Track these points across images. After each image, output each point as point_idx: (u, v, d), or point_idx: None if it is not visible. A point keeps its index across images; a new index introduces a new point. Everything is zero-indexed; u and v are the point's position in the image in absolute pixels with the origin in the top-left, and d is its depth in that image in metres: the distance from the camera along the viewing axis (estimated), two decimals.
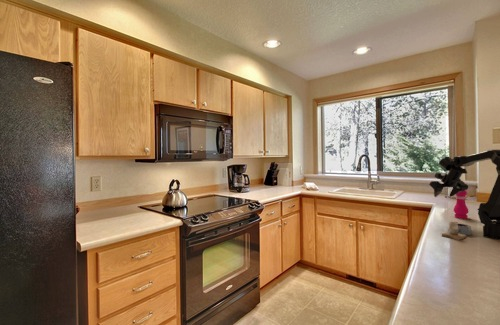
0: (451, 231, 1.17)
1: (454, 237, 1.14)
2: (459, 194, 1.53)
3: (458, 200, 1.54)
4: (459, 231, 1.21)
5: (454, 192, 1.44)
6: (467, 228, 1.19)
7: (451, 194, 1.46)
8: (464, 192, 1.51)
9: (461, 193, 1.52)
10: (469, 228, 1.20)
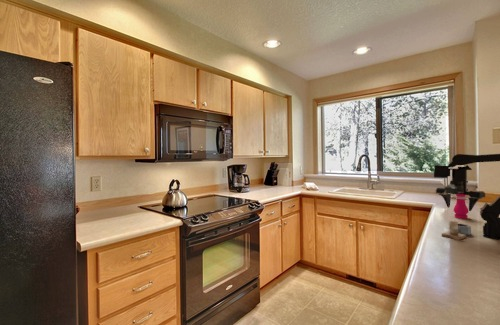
0: (451, 231, 1.17)
1: (454, 237, 1.14)
2: (459, 194, 1.53)
3: (458, 200, 1.54)
4: (459, 231, 1.21)
5: (449, 200, 1.28)
6: (467, 228, 1.19)
7: (449, 204, 1.28)
8: None
9: None
10: (469, 228, 1.20)
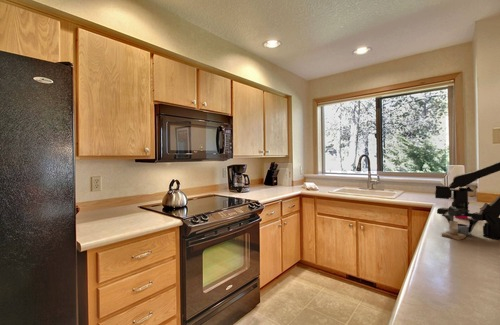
0: (451, 231, 1.17)
1: (454, 237, 1.14)
2: None
3: None
4: (459, 231, 1.21)
5: None
6: (467, 228, 1.19)
7: None
8: None
9: None
10: None
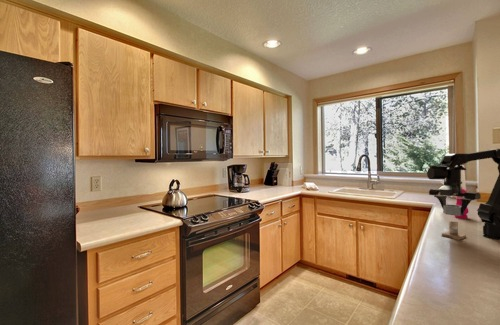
0: (451, 231, 1.17)
1: (454, 237, 1.14)
2: None
3: (458, 200, 1.54)
4: (451, 212, 1.15)
5: (445, 202, 1.22)
6: (459, 208, 1.14)
7: None
8: (464, 192, 1.51)
9: None
10: None
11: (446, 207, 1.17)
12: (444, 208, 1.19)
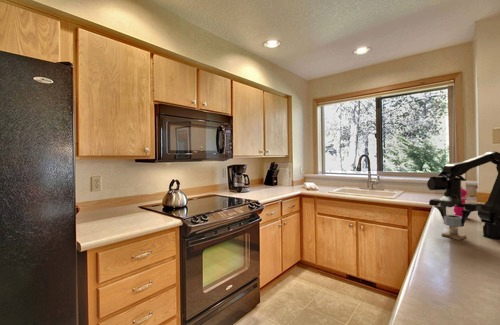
0: (451, 231, 1.17)
1: (454, 237, 1.14)
2: None
3: None
4: (452, 223, 1.15)
5: (445, 212, 1.21)
6: (460, 219, 1.14)
7: None
8: (464, 192, 1.51)
9: None
10: None
11: (447, 218, 1.17)
12: (445, 219, 1.18)
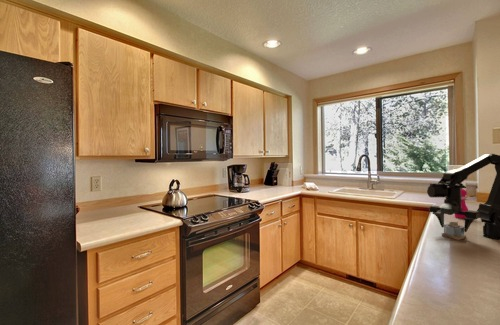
0: None
1: (454, 237, 1.14)
2: None
3: None
4: (452, 232, 1.15)
5: (443, 219, 1.22)
6: (460, 229, 1.14)
7: (443, 224, 1.21)
8: (464, 192, 1.51)
9: (461, 193, 1.52)
10: (462, 229, 1.14)
11: (447, 227, 1.17)
12: (445, 228, 1.18)
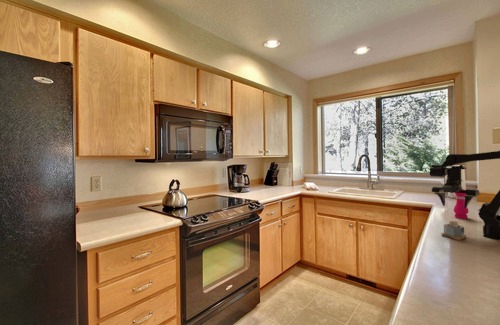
0: None
1: (454, 237, 1.14)
2: (459, 194, 1.53)
3: (458, 200, 1.54)
4: (452, 232, 1.15)
5: (444, 198, 1.33)
6: (460, 229, 1.14)
7: (444, 202, 1.32)
8: None
9: (461, 193, 1.52)
10: (462, 229, 1.14)
11: (447, 227, 1.17)
12: (445, 228, 1.18)
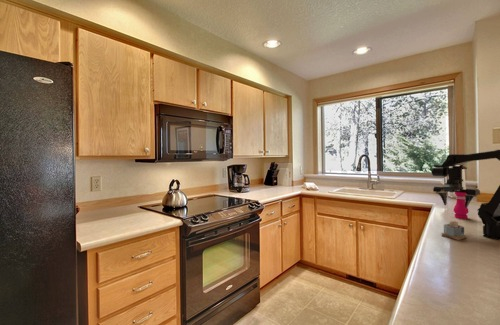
0: None
1: (454, 237, 1.14)
2: (459, 194, 1.53)
3: (458, 200, 1.54)
4: (452, 232, 1.15)
5: (445, 197, 1.35)
6: (460, 229, 1.14)
7: (445, 202, 1.35)
8: None
9: (461, 193, 1.52)
10: (462, 229, 1.14)
11: (447, 227, 1.17)
12: (445, 228, 1.18)
